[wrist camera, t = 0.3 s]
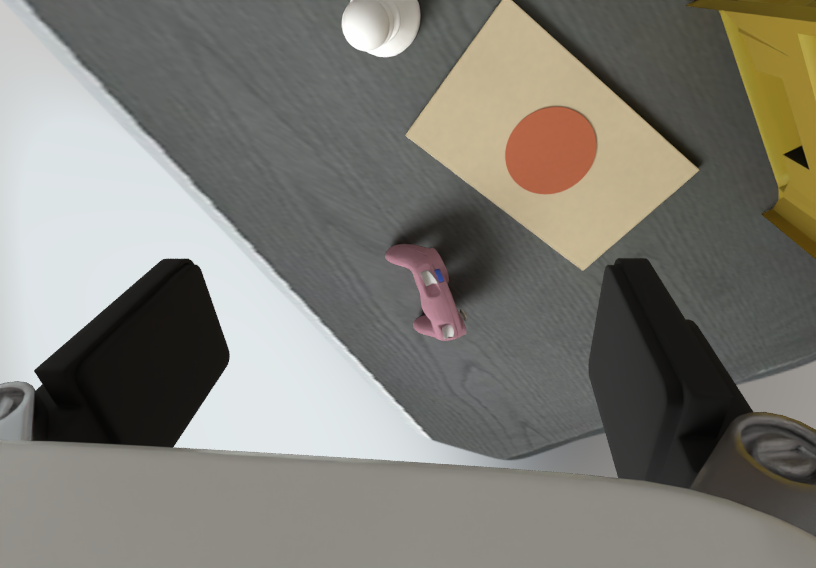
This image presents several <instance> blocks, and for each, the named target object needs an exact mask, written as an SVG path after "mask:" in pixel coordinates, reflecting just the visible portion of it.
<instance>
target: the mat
mask: <svg viewBox="0 0 816 568" xmlns="http://www.w3.org/2000/svg"><path fill="white" fill-rule="evenodd" d="M406 136H407V137H408V138H409V139H411V140H412V141H413V142H415V143H416V144H417V145H419V146H420V147H421V148H422V149H424V150H425V151H426V152H428V153H429V154H430V155H432V156H433V157H434V158H436V159H437V160H438V161H439V162H441V163H442V164H443V165H445V166H446V167H447V168H449V169H450V170H451V171H453V172H454V173H455V174H456V175H458V176H459V177H460V178H462V179H463V180H464V181H466V182H467V183H468V184H470V185H471V186H472V187H474V188H475V189H476V190H477V191H479V192H480V193H481V194H483V195H484V196H485V197H487V198H488V199H489V200H491V201H492V202H493V203H494V204H496V205H497V206H498V207H500V208H501V209H502V210H504V211H505V212H506V213H508V214H509V215H510V216H512V217H513V218H514V219H515V220H517V221H518V222H519V223H521V224H522V225H523V226H525V227H526V228H527V229H529V230H530V231H531V232H532V233H534V234H535V235H536V236H538V237H539V238H540V239H542V240H543V241H544V242H546V243H547V244H548V245H549V246H551V247H552V248H553V249H555V250H556V251H557V252H559V253H560V254H561V255H563V256H564V257H565V258H567V259H568V260H569V261H570V262H572V263H573V264H574V265H576V266H577V267H578V268H580V269H581V270H582V271H583V270H584V269H586V268H587V267H588V266H589V265H590V264H591V263H593V262H594V261H595V260H596V259H597V258H598V257H600V256H601V255H602V254H603V253H604V252H605V251H607V250H608V249H609V248H610V247H611V246H612V245H613V244H615V243H616V242H617V241H618V240H619V239H620V238H622V237H623V236H624V235H625V234H626V233H627V232H629V231H630V230H631V229H632V228H633V227H634V226H635V225H637V224H638V223H639V222H640V221H641V220H642V219H644V218H645V217H646V216H647V215H648V214H649V213H651V212H652V211H653V210H654V209H655V208H656V207H658V206H659V205H660V204H661V203H662V202H663V201H664V200H666V199H667V198H668V197H669V196H670V195H671V194H673V193H674V192H675V191H676V190H677V189H678V188H680V187H681V186H682V185H683V184H684V183H685V182H687V181H688V180H689V179H690V178H691V177H692V176H693V175H695V174H696V173H697V172H698V171H699V169H698V168H697V167H696V166H695V165H694V164H693V163H692V162H690V161H689V160H688V159H687V158H686V157H685V156H684V155H683V154H682V153H681V152H679V151H678V150H677V149H676V148H675V147H674V146H673V145H672V144H671V143H669V142H668V141H667V140H666V139H665V138H664V137H663V136H662V135H661V134H659V133H658V132H657V131H656V130H655V129H654V128H653V127H652V126H651V125H650V124H648V123H647V122H646V121H645V120H644V119H643V118H642V117H641V116H640V115H638V114H637V113H636V112H635V111H634V110H633V109H632V108H631V107H630V106H629V105H627V104H626V103H625V102H624V101H623V100H622V99H621V98H620V97H619V96H617V95H616V94H615V93H614V92H613V91H612V90H611V89H610V88H609V87H608V86H606V85H605V84H604V83H603V82H602V81H601V80H600V79H599V78H598V77H596V76H595V75H594V74H593V73H592V72H591V71H590V70H589V69H588V68H587V67H585V66H584V65H583V64H582V63H581V62H580V61H579V60H578V59H577V58H575V57H574V56H573V55H572V54H571V53H570V52H569V51H568V50H567V49H565V48H564V47H563V46H562V45H561V44H560V43H559V42H558V41H557V40H556V39H554V38H553V37H552V36H551V35H550V34H549V33H548V32H547V31H546V30H544V29H543V28H542V27H541V26H540V25H539V24H538V23H537V22H536V21H535V20H533V19H532V18H531V17H530V16H529V15H528V14H527V13H526V12H525V11H523V10H522V9H521V8H520V7H519V6H518V5H517V4H516V3H515V2H514V1H512V0H501V2H500V3H499V5H498V6H497V7H496V9H495V10H494V12H493V13H492V14H491V16H490V17H489V19H488V20H487V21H486V23H485V24H484V26H483V27H482V28H481V30H480V31H479V33H478V34H477V35H476V37H475V38H474V40H473V41H472V42H471V44H470V45H469V47H468V48H467V49H466V51H465V52H464V54H463V55H462V56H461V58H460V59H459V60H458V62H457V63H456V65H455V66H454V67H453V69H452V70H451V72H450V73H449V74H448V76H447V77H446V79H445V80H444V81H443V83H442V84H441V86H440V87H439V88H438V90H437V91H436V93H435V94H434V95H433V97H432V98H431V100H430V101H429V102H428V104H427V105H426V107H425V108H424V109H423V111H422V112H421V114H420V115H419V116H418V118H417V119H416V120H415V122H414V123H413V125H412V126H411V127H410V129H409V130H408V132H407V133H406Z"/></svg>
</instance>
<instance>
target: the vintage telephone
mask: <svg viewBox="0 0 816 568" xmlns="http://www.w3.org/2000/svg"><path fill="white" fill-rule="evenodd" d="M686 6H691V7H699V8H707V9H715V10H718V11H719V12H720V14H721V17H722V20H723V23H724V26H725V29H726V32H727V35H728V38H729V41H730V44H731V47H732V50H733V53H734V56H735V59H736V62H737V65H738V68H739V71H740V74H741V77H742V80H743V83H744V86H745V89H746V92H747V95H748V98H749V101H750V104H751V107H752V110H753V113H754V116H755V119H756V122H757V125H758V128H759V131H760V134H761V137H762V139H763V142H764V145H765V148H766V151H767V154H768V157H769V160H770V163H771V166H772V169H773V172H774V175H775V178H776V181H777V184H778V187H779V200H778V202H777V203H776V205H775V206H774V208H773V209H772V210H769V211H767V212H765V213H763V214H762V215H763V216H764V217H765V218H767V219H768V220H769V221H770V222H771V223H773V224H774V225H775V226H776V227H777V228H779V229H780V230H781V231H782V232H783V233H785V234H786V235H787V236H788V237H790V238H791V239H792V240H793V241H794V242H796V243H797V244H798V245H799V246H800V247H802V248H803V249H804V250H805V251H806V252H808V253H809V254H810V255H811V256H812V257H814V258H815V259H816V0H737V1H735V0H694V1H693V2H691V3H689V4H688V5H686Z"/></svg>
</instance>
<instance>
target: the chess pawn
mask: <svg viewBox="0 0 816 568" xmlns="http://www.w3.org/2000/svg"><path fill="white" fill-rule="evenodd" d="M420 17H421V14H420V7H419V3H418V0H351V1H350V4H349V5H348V6H347V7H346V9H345V11H344V13H343V17H342V29H343V33H344V35H345V37H346V39H347V41H348V42H349V43H350V44H351V45H352V46H353V47H354V48H356V49H358V50H361V51H367V52H368V53H370V54H373V55H375V56H379V57H390V56H395V55H397V54H399V53H401V52H403V51H404V50H405V49H406V48H407V47H408V46H409V45H410V44H411V43H412V42H413V40H414V38H415V37H416V35H417V32H418V29H419V26H420Z"/></svg>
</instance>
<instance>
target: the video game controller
mask: <svg viewBox="0 0 816 568" xmlns="http://www.w3.org/2000/svg"><path fill="white" fill-rule="evenodd" d="M385 257H386V259H387V260H388V261H389V262H391V263H393V264H396V265H400V266H403V267H406V268H408V269H409V270H411V271H412V273H413V275H414V278H415V281H416V284H417V287H418V289H419V292H420V294H421V305H422V309H423V311H424V313H425V314H426V315H424V316H420V317H418V318H417V319H416V320H415V321H414V323H413V326H414V328H415V330H417V331H418V332H419V333H421V334H424V335H428V336H432V337H435V338H437V339H439V340H442V341H447V340H453V339H457V338H459V337H461V336H463V335H465V334H466V328H465V325H464V322H463V319H464V320H465V321H467V315H466V313H465V312H464V311H463V310H462V309H460V312H459V311H458V310H457V309H456V305H455V303H454V300H453V297H452V294H451V292H450V289H449V287H448V284H447V283H448V282H449V277H448V272H447V270H446V267H445V265H444V263H443V261H442V259H441V257H440V255H439V254H438V252H437V251H436V250H435V249H434V248H429V249H428V248H425V247H421V246H417V245H411V244H400V245H395V246H392V247H391V248H389V249H388V250H387V252H386V254H385Z"/></svg>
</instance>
